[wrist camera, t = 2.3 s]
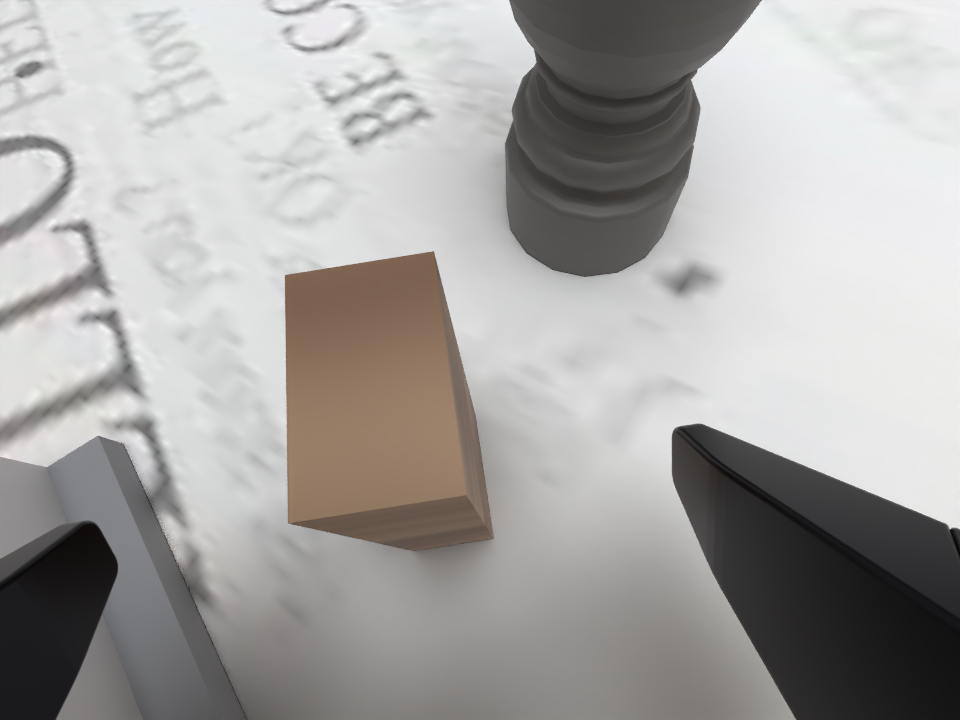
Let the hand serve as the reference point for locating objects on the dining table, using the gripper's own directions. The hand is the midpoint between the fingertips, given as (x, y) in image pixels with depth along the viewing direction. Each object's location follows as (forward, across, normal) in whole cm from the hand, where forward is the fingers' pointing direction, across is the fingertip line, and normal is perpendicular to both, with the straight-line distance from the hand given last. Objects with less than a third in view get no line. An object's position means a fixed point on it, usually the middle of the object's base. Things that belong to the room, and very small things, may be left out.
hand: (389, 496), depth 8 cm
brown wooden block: (+8, 0, +5) cm, 9 cm away
